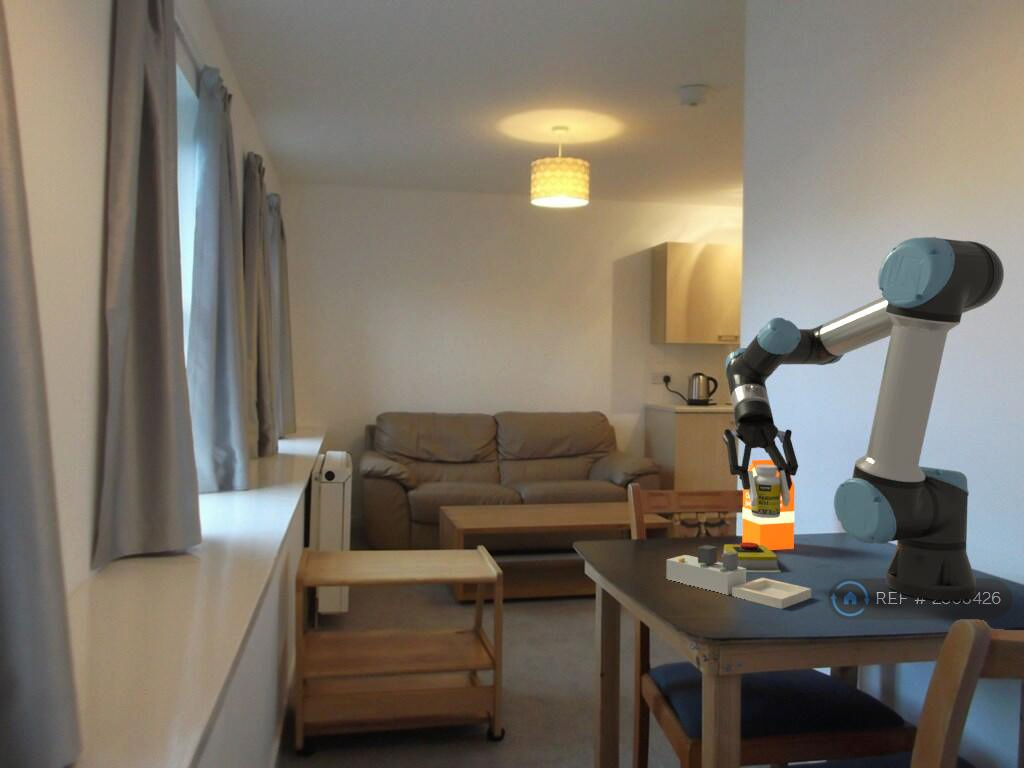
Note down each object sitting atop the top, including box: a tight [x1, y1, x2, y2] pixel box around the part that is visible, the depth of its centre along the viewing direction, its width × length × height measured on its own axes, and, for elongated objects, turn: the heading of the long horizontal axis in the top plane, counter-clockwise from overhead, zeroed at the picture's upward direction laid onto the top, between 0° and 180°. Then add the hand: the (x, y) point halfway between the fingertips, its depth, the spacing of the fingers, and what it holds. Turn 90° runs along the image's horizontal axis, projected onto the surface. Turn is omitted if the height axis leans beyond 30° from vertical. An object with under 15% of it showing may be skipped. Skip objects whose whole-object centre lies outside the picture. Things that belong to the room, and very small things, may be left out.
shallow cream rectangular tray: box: [731, 577, 812, 610], centre depth 153 cm, size 10×10×2 cm
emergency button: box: [721, 542, 782, 574], centre depth 178 cm, size 9×4×15 cm
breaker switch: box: [697, 544, 718, 565], centre depth 161 cm, size 2×3×3 cm
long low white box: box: [666, 552, 747, 596], centre depth 162 cm, size 14×6×7 cm, turn 41°
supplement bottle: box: [751, 465, 781, 518], centre depth 164 cm, size 5×5×10 cm
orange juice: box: [741, 458, 796, 551], centre depth 194 cm, size 8×9×20 cm
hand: (770, 501), depth 160 cm, fingers closed on supplement bottle, 5 cm apart
